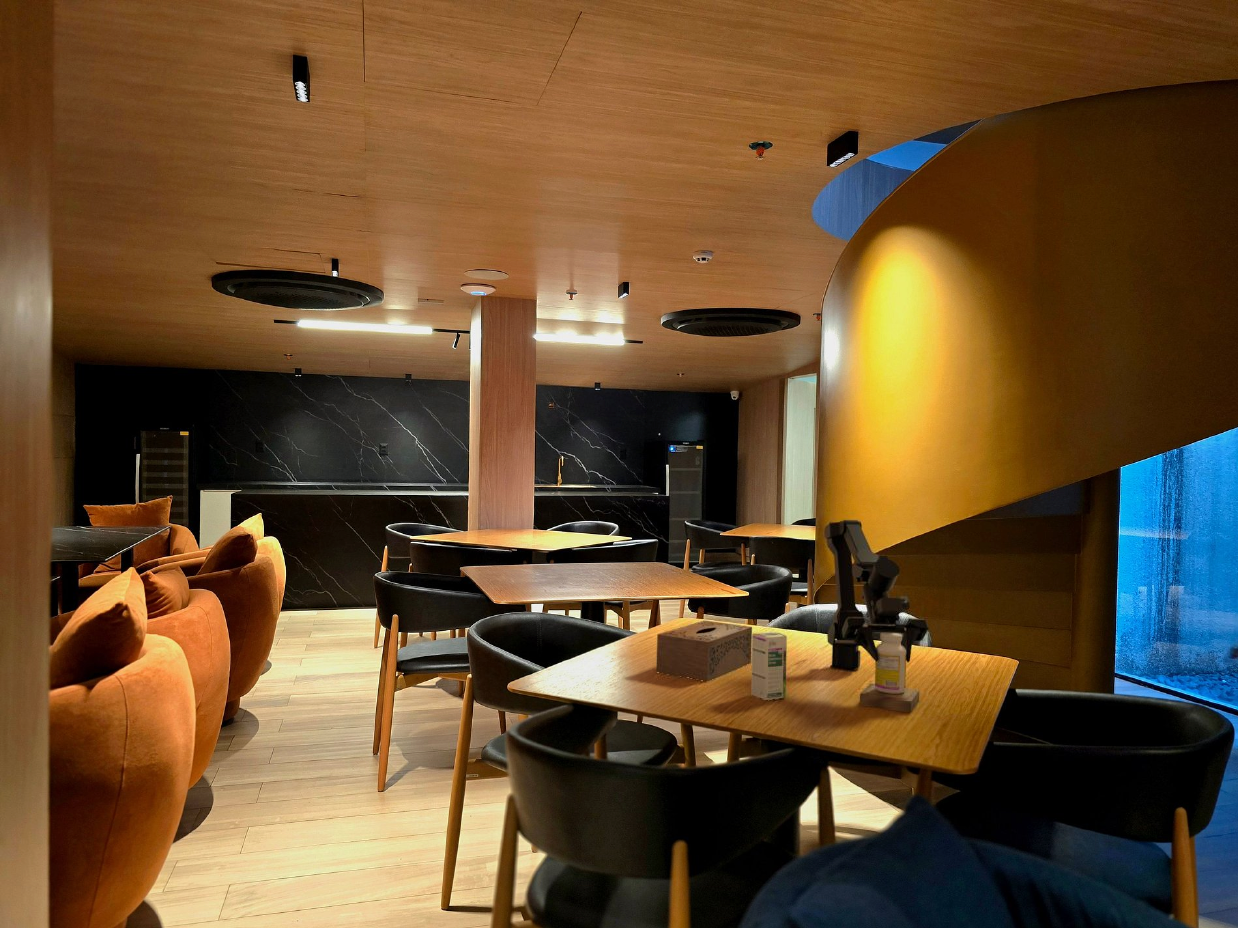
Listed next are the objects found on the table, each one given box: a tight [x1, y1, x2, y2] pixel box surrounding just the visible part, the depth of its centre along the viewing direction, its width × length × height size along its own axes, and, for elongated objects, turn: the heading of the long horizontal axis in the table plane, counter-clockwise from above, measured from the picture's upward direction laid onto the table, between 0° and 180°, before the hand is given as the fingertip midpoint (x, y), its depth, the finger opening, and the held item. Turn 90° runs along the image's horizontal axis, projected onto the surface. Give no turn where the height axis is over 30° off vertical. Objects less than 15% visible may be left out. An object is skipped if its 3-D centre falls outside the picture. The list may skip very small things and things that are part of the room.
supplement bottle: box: [874, 633, 907, 694], centre depth 192 cm, size 7×7×13 cm
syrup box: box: [750, 631, 788, 701], centre depth 194 cm, size 6×6×14 cm
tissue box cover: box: [655, 619, 753, 682], centre depth 221 cm, size 26×14×10 cm, turn 147°
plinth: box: [859, 682, 920, 714], centre depth 192 cm, size 11×11×3 cm
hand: (893, 660), depth 191 cm, fingers open, 7 cm apart
